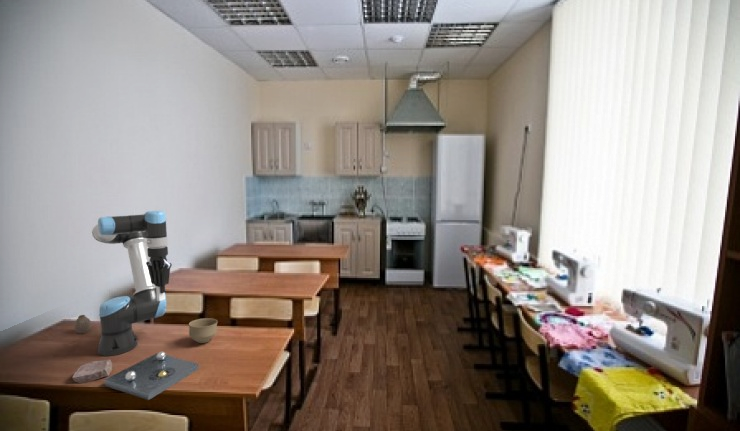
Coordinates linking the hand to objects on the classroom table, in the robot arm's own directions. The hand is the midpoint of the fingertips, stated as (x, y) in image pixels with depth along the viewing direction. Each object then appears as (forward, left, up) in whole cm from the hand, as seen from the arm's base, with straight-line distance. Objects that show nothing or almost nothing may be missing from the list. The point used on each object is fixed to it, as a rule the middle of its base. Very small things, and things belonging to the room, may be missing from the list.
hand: (161, 299), depth 154 cm
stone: (-13, -21, -27) cm, 37 cm away
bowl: (+4, +18, -27) cm, 32 cm away
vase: (-63, +3, -27) cm, 68 cm away
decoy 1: (+5, -6, -22) cm, 23 cm away
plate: (+10, -13, -26) cm, 31 cm away
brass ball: (+15, -13, -25) cm, 32 cm away
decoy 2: (+8, -21, -22) cm, 31 cm away
